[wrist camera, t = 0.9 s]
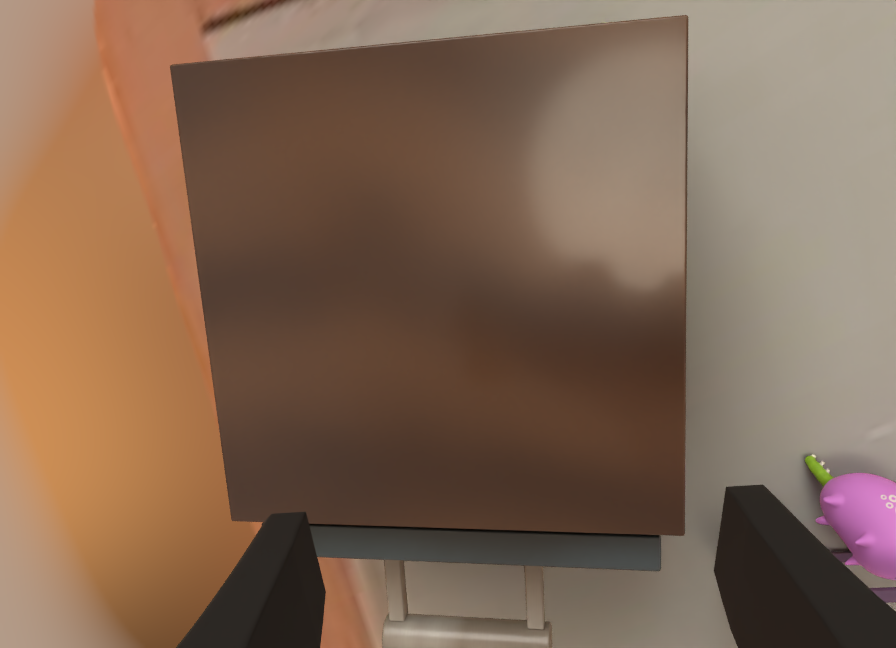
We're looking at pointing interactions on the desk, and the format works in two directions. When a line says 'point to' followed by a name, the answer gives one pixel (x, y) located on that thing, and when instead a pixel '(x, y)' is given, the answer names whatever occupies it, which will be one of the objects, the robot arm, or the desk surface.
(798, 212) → the desk surface
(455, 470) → the cabinet
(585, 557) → the drawer
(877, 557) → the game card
